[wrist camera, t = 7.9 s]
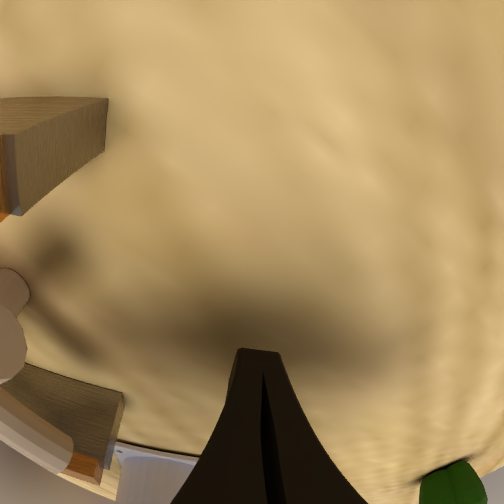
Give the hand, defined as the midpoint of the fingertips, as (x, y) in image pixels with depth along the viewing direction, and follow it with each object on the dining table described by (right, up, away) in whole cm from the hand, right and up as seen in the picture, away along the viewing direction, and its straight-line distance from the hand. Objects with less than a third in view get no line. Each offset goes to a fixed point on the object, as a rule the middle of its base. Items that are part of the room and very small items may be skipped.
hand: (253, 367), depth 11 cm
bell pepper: (+23, -22, +16) cm, 36 cm away
